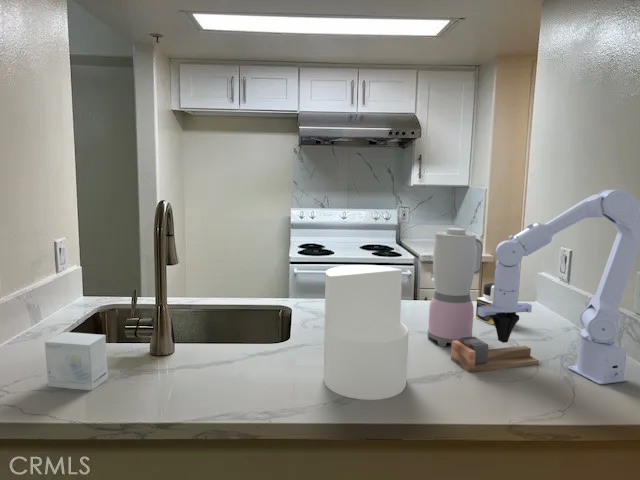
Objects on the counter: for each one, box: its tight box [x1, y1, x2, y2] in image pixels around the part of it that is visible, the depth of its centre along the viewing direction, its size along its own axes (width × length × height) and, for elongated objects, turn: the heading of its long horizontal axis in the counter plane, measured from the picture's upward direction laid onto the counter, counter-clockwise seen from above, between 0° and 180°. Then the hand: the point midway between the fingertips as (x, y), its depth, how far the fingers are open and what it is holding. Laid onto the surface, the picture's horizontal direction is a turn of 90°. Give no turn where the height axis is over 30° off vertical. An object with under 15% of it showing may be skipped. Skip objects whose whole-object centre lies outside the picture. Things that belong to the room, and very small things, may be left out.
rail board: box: [450, 340, 540, 373], centre depth 118 cm, size 8×20×5 cm, turn 106°
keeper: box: [460, 336, 489, 364], centre depth 116 cm, size 6×4×5 cm
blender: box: [427, 227, 483, 347], centre depth 132 cm, size 16×12×32 cm
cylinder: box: [323, 264, 409, 401], centre depth 105 cm, size 19×19×25 cm
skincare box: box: [44, 331, 109, 391], centre depth 102 cm, size 10×6×10 cm, turn 82°
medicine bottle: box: [475, 282, 494, 325], centre depth 152 cm, size 7×7×12 cm
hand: (502, 341), depth 118 cm, fingers closed
